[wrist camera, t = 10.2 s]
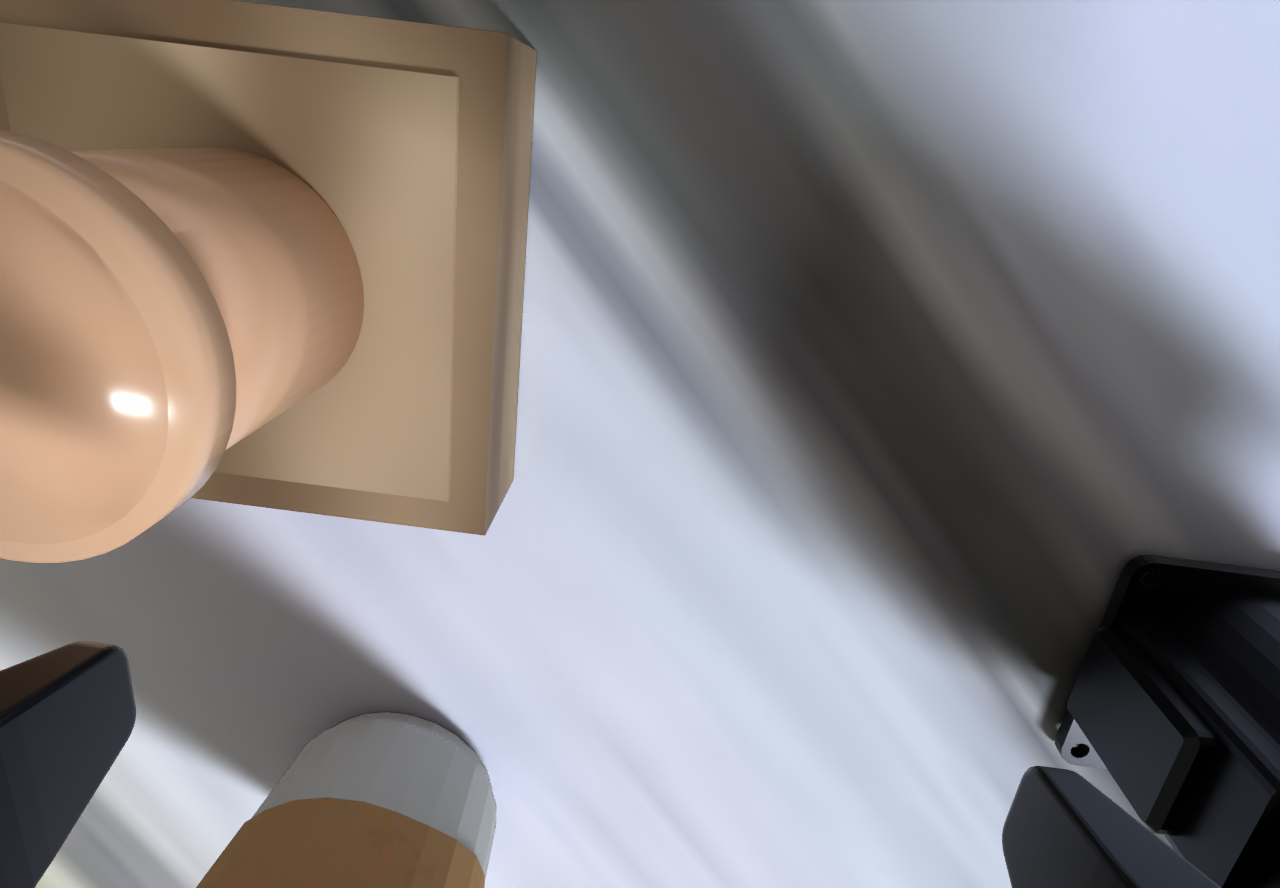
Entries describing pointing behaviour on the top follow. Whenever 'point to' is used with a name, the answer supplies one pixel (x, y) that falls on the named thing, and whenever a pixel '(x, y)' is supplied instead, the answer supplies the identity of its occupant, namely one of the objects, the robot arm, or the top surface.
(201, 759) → the top surface
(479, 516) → the square wooden tray
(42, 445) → the terracotta pot
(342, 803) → the coffee cup
